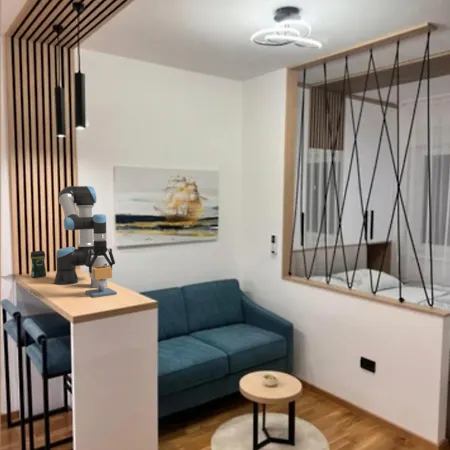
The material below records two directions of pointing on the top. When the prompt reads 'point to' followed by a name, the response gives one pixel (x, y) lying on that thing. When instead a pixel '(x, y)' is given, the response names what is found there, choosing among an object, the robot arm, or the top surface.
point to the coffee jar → (38, 264)
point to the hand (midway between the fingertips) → (100, 277)
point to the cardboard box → (102, 272)
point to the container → (98, 262)
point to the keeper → (101, 290)
